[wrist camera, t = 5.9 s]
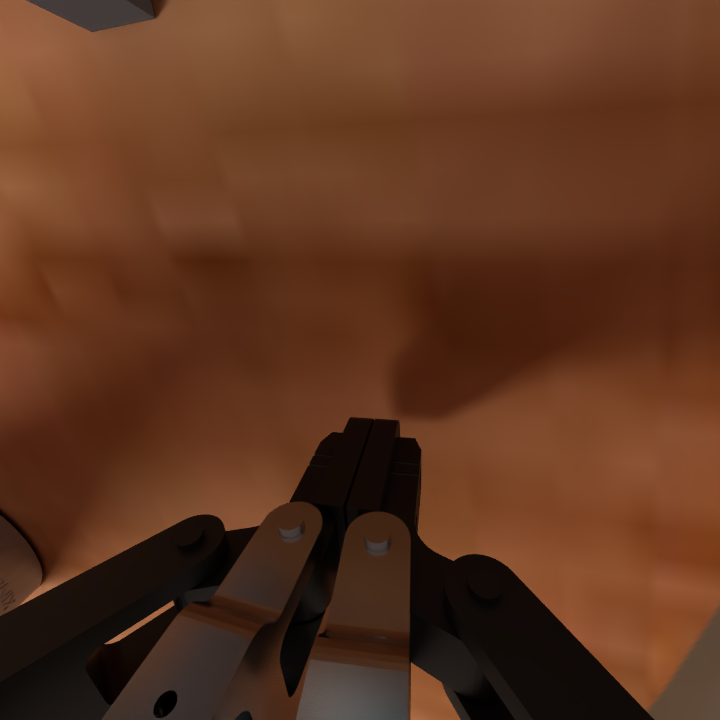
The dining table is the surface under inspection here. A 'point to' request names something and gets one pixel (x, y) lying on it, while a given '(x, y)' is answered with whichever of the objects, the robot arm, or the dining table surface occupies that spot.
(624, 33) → the dining table surface
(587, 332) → the dining table surface
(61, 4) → the bridge
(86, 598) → the robot arm
